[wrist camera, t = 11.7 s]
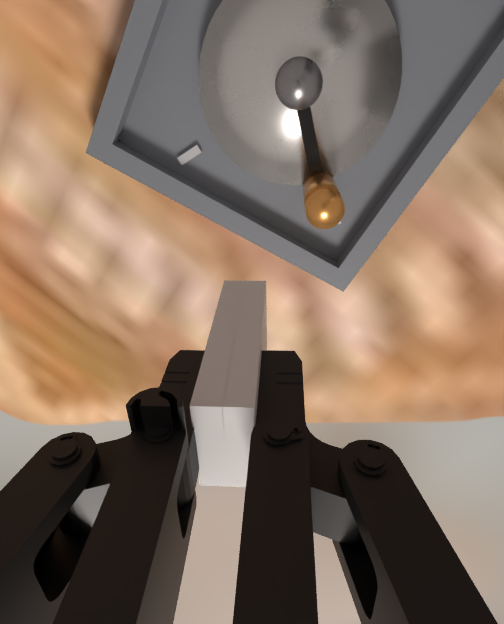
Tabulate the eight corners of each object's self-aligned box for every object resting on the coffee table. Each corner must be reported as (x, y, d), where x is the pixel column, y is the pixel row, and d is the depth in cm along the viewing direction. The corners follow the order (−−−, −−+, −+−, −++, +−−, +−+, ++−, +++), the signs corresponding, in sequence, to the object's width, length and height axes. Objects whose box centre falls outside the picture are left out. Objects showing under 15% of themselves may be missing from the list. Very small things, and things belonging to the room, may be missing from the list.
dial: (162, 83, 30) (134, 88, 24) (305, -102, 24) (311, -150, 19) (299, 223, 34) (302, 255, 28) (445, 90, 29) (483, 97, 23)
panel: (228, -238, 23) (221, -271, 21) (541, 2, 27) (564, -4, 25) (99, 146, 33) (85, 152, 31) (340, 277, 37) (343, 291, 35)
